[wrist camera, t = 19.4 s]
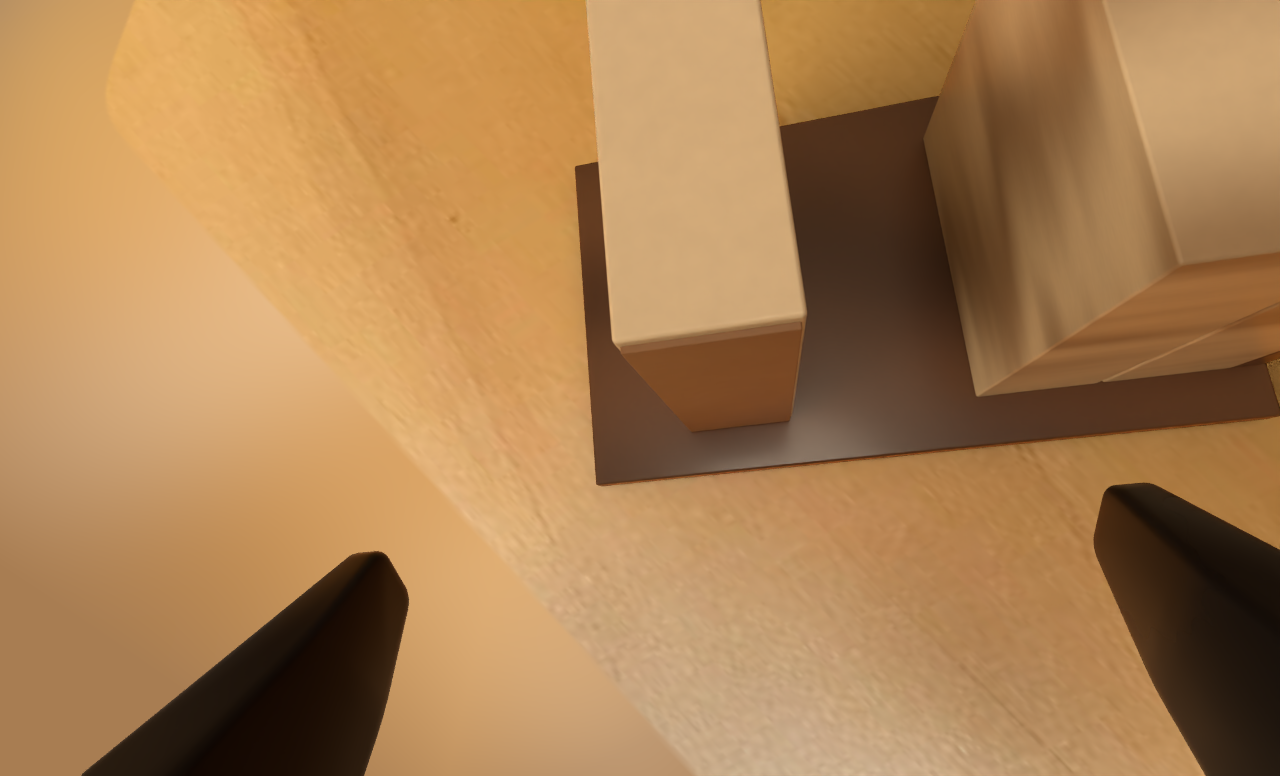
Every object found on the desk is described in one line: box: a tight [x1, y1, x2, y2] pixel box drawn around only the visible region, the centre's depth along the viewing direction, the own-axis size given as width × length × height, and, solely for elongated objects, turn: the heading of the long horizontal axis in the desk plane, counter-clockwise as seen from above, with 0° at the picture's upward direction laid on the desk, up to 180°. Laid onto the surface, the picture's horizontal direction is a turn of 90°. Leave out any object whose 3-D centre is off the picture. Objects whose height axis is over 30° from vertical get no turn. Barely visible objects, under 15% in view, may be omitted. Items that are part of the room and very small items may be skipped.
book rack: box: [575, 0, 1280, 486], centre depth 17 cm, size 12×20×11 cm, turn 95°
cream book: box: [586, 0, 807, 432], centre depth 17 cm, size 9×3×10 cm, turn 5°
